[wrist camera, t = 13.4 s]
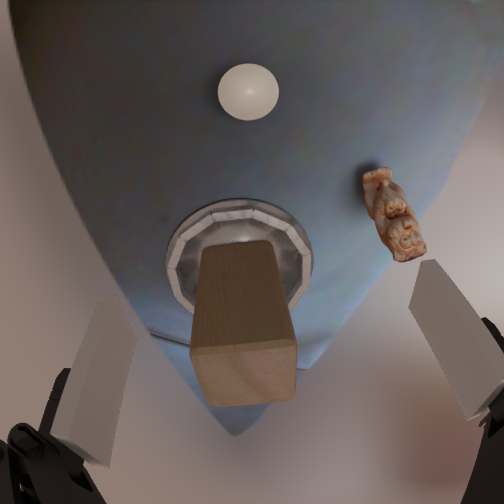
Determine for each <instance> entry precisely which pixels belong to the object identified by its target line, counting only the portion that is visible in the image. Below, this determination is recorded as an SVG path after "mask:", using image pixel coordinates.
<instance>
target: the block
mask: <svg viewBox="0 0 504 504" xmlns="http://www.w3.org/2000/svg"><path fill="white" fill-rule="evenodd" d="M189 356H190V359H191V361H192V364H193V367H194V370H195V372H196V375H197V378H198V380H199V383H200V386H201V388H202V391H203V394H204V396H205V399H206V401H207V403H208V405H210V406H213V407H227V406H240V405H252V404H262V403H271V402H279V401H287V400H290V399H292V398H293V397H294V395H295V391H296V370H297V341H296V337H295V333H294V329H293V325H292V320H291V316H290V312H289V308H288V304H287V300H286V295H285V291H284V287H283V283H282V279H281V275H280V271H279V267H278V263H277V259H276V255H275V251H274V247H273V245H272V243H271V242H270V241H266V240H265V241H255V242H246V243H237V244H227V245H218V246H209V247H206V248H204V249H203V250H202V254H201V260H200V268H199V275H198V283H197V291H196V299H195V307H194V316H193V324H192V333H191V343H190V353H189Z"/></svg>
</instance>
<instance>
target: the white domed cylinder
mask: <svg viewBox="0 0 504 504" xmlns="http://www.w3.org/2000/svg"><path fill="white" fill-rule="evenodd" d="M278 95H279V89H278V84H277V81H276V79H275V77H274V76H273V75H272V73H271V72H269V71H268V70H267V69H266V68H264V67H262V66H259V65H256V64H241V65H237V66H235V67H233V68H231V69H230V70H229V71H227V72H226V73H225V74H224V76H223V77H222V79H221V81H220V83H219V87H218V97H219V101H220V103H221V105H222V107H223V108H224V110H225V111H226V112H227V113H228V114H230V115H231V116H233V117H235V118H237V119H241V120H256V119H259V118H262V117H263V116H265V115H267V114H268V113H269V112H270V111H271V110H272V109H273V108H274V106H275V105H276V102H277V100H278Z"/></svg>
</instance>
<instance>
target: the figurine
mask: <svg viewBox="0 0 504 504" xmlns="http://www.w3.org/2000/svg"><path fill="white" fill-rule="evenodd" d="M391 177H392V170H391V169H389V168H387V167H382V168H378V169H375V170H372V171H369V172H366V173H365V174H364V175H363V188H364V201H365V206H366V209H367V212H368V214H369V216H370V217H371V219H373V220H374V221H375V225H376V228H377V231H378V234H379V236H380V238H381V240H382V242H383V243H384V245H386V246H387V247H388V248H389V250H390V251H391V253H392V254H393V259H394V260H395V261H398V262H406V261H410V260H413V259H415V258H417V257H419V256H422V255H424V254H425V253H426V252H427V248H426V244H425V243H424V241H423V239H422V236H421V233H420V226H419V224H418V222H417V221H416V217H415V214H414V212H413V210H412V208H411V207H410V205H408V204H407V202H406V197H405V193H404V191H403V190H402V189H401V187H400V186H398V185H397V184H395V183H393V182H392V181H391Z"/></svg>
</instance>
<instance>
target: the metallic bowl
mask: <svg viewBox="0 0 504 504" xmlns="http://www.w3.org/2000/svg"><path fill="white" fill-rule="evenodd" d="M265 240H266V241H270V242H271V243H272V245H273V247H274V251H275V255H276V259H277V263H278V267H279V271H280V275H281V279H282V283H283V287H284V291H285V295H286V300H287V304H288V308H289V312H290V311H291V309H293V308H294V307H295V305H296V304H297V303H298V301H299V300H300V298H301V297H302V295H303V294H304V293H305V291H306V290H307V288H308V287H309V284H310V278H311V275H312V271H313V252H312V247H311V244H310V242H309V239H308V237H307V235H306V233H305V231H304V230H303V228H302V227H301V225H300V224H299V223H298V222H297V221H296V220H295V219H294V218H293V217H292V216H291V215H290V214H288V213H287V212H286V211H284V210H283V209H281V208H279V207H277V206H275V205H273V204H270V203H267V202H264V201H260V200H255V199H247V198H234V199H226V200H221V201H217V202H214V203H211V204H209V205H206V206H204V207H202V208H200V209H199V210H197V211H195V212H194V213H192V214H191V215H190V216H189V217H187V218H186V219H185V220H184V221H183V222H182V223H181V225H180V226H179V227H178V228H177V230H176V231H175V233H174V234H173V237H172V239H171V241H170V243H169V247H168V250H167V254H166V273H167V278H168V280H169V283H170V286H171V288H172V289H173V292H174V296H175V297H176V299H177V300H178V301H179V302H180V303H181V304H182V305H183V306H184V307H185V308H186V309H188V310H189V311H190V312H191V313H192V314H193V315H194V307H195V299H196V291H197V283H198V275H199V268H200V260H201V254H202V250H203V249H204V248H206V247H209V246H218V245H227V244H237V243H246V242H255V241H265Z"/></svg>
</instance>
